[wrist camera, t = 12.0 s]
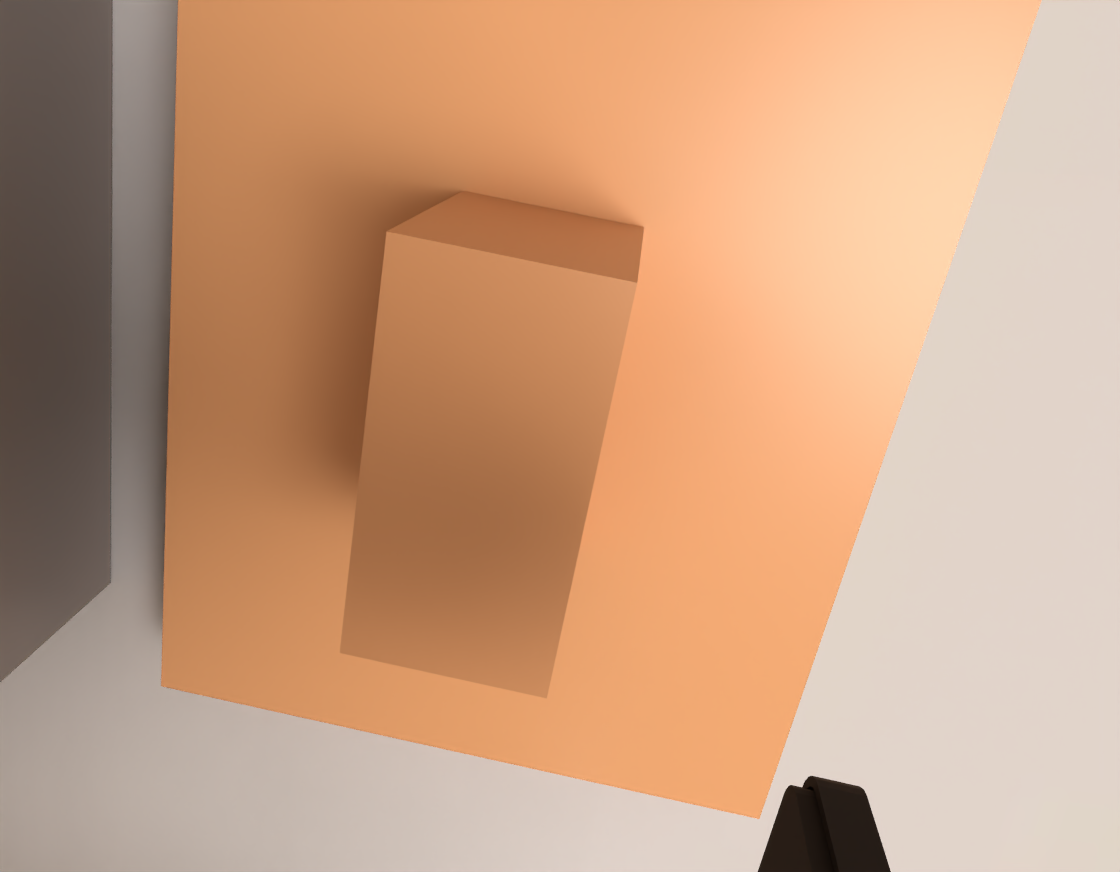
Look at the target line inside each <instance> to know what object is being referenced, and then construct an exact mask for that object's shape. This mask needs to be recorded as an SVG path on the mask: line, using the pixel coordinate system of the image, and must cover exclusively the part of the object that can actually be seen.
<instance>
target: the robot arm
mask: <svg viewBox="0 0 1120 872" xmlns="http://www.w3.org/2000/svg"><path fill="white" fill-rule="evenodd" d="M758 872H891V871H890V868H889V865H888V862H887V859H886V855H885V852H884V849H883V846H882V843H881V839H880V836H879V833H878V830H877V827H876V824H875V820H874V817H873V814H872V811H871V808H870V805H869V801H868V798H867V795H866V793H865V791H864V789H862V788H861V787H859V786H855V785H850V784H846V783H841V782H837V781H833V780H828V779H824V778H819V777H815V776H810V777H808V778H807V780H806V781H805V782H804V785H803V787H797V786H793V785H790V786H788V788H787V789H786V791H785V793H784V796H783V799H782V802H781V805H780V808H779V811H778V814H777V817H776V820H775V823H774V825H773V828H772V831H771V834H770V837H769V840H768V843H767V846H766V849H765V852H764V855H763V858H762V861H761V864H760V867H759V870H758Z"/></svg>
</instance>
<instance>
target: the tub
mask: <svg viewBox="0 0 1120 872" xmlns="http://www.w3.org/2000/svg"><path fill="white" fill-rule="evenodd" d="M111 207H112V0H0V682H1V681H2V680H3V679H4V678H5V677H7V676H8V675H9V674H10V673H11V672H12V671H13V670H14V669H15V668H17V667H18V666H19V665H20V664H21V663H22V662H23V661H24V660H25V659H27V658H28V657H29V656H30V655H31V654H32V653H33V652H34V651H35V650H37V649H38V648H39V647H40V646H41V645H42V644H43V643H44V642H45V641H47V640H48V639H49V638H50V637H51V636H52V635H53V634H54V633H55V632H56V631H58V630H59V629H60V628H61V627H62V626H63V625H64V624H65V623H66V622H68V621H69V620H70V619H71V618H72V617H73V616H74V615H75V614H76V613H78V612H79V611H80V610H81V609H82V608H83V607H84V606H85V605H86V604H88V603H89V602H90V601H91V600H92V599H93V598H94V597H95V596H96V595H98V594H99V593H100V592H101V591H102V590H103V589H104V588H105V587H106V586H107V585H109V584H110V554H111Z"/></svg>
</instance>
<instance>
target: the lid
mask: <svg viewBox="0 0 1120 872" xmlns="http://www.w3.org/2000/svg"><path fill="white" fill-rule="evenodd" d="M1040 3H1041V0H178V25H177V66H176V106H175V147H174V188H173V228H172V269H171V309H170V350H169V390H168V431H167V471H166V512H165V552H164V593H163V633H162V674H161V686H163V687H167V688H172V689H176V690H181V691H185V692H190V693H194V694H199V695H203V696H208V697H212V698H217V699H221V700H226V701H230V702H235V703H239V704H244V705H248V706H253V707H257V708H262V709H266V710H271V711H275V712H280V713H284V714H289V715H293V716H298V717H302V718H307V719H311V720H316V721H320V722H325V723H329V724H334V725H338V726H343V727H347V728H352V729H356V730H361V731H365V732H370V733H374V734H379V735H383V736H388V737H392V738H397V739H401V740H406V741H410V742H415V743H419V744H424V745H428V746H433V747H437V748H442V749H446V750H451V751H455V752H460V753H464V754H469V755H473V756H478V757H482V758H487V759H491V760H496V761H500V762H505V763H509V764H514V765H519V766H523V767H528V768H532V769H537V770H541V771H546V772H550V773H555V774H559V775H564V776H568V777H573V778H577V779H582V780H586V781H591V782H595V783H600V784H604V785H609V786H613V787H618V788H622V789H627V790H631V791H636V792H640V793H645V794H649V795H654V796H658V797H663V798H667V799H672V800H676V801H681V802H685V803H690V804H694V805H699V806H703V807H708V808H712V809H717V810H721V811H726V812H730V813H735V814H739V815H744V816H748V817H753V818H757V819H759V818H760V815H761V812H762V809H763V806H764V804H765V801H766V798H767V795H768V792H769V789H770V786H771V783H772V780H773V777H774V775H775V772H776V769H777V766H778V763H779V760H780V757H781V754H782V751H783V748H784V746H785V743H786V740H787V737H788V734H789V731H790V728H791V725H792V722H793V719H794V717H795V714H796V711H797V708H798V705H799V702H800V699H801V696H802V693H803V690H804V688H805V685H806V682H807V679H808V676H809V673H810V670H811V667H812V664H813V661H814V659H815V656H816V653H817V650H818V647H819V644H820V641H821V638H822V635H823V632H824V630H825V627H826V624H827V621H828V618H829V615H830V612H831V609H832V606H833V603H834V601H835V598H836V595H837V592H838V589H839V586H840V583H841V580H842V577H843V574H844V572H845V569H846V566H847V563H848V560H849V557H850V554H851V551H852V548H853V545H854V543H855V540H856V537H857V534H858V531H859V528H860V525H861V522H862V519H863V516H864V514H865V511H866V508H867V505H868V502H869V499H870V496H871V493H872V490H873V487H874V485H875V482H876V479H877V476H878V473H879V470H880V467H881V464H882V461H883V458H884V456H885V453H886V450H887V447H888V444H889V441H890V438H891V435H892V432H893V429H894V427H895V424H896V421H897V418H898V415H899V412H900V409H901V406H902V403H903V400H904V398H905V395H906V392H907V389H908V386H909V383H910V380H911V377H912V374H913V371H914V369H915V366H916V363H917V360H918V357H919V354H920V351H921V348H922V345H923V342H924V340H925V337H926V334H927V331H928V328H929V325H930V322H931V319H932V316H933V313H934V311H935V308H936V305H937V302H938V299H939V296H940V293H941V290H942V287H943V284H944V282H945V279H946V276H947V273H948V270H949V267H950V264H951V261H952V258H953V255H954V253H955V250H956V247H957V244H958V241H959V238H960V235H961V232H962V229H963V226H964V224H965V221H966V218H967V215H968V212H969V209H970V206H971V203H972V200H973V197H974V195H975V192H976V189H977V186H978V183H979V180H980V177H981V174H982V171H983V168H984V166H985V163H986V160H987V157H988V154H989V151H990V148H991V145H992V142H993V139H994V137H995V134H996V131H997V128H998V125H999V122H1000V119H1001V116H1002V113H1003V110H1004V108H1005V105H1006V102H1007V99H1008V96H1009V93H1010V90H1011V87H1012V84H1013V81H1014V79H1015V76H1016V73H1017V70H1018V67H1019V64H1020V61H1021V58H1022V55H1023V52H1024V50H1025V47H1026V44H1027V41H1028V38H1029V35H1030V32H1031V29H1032V26H1033V23H1034V21H1035V18H1036V15H1037V12H1038V9H1039V6H1040Z"/></svg>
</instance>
